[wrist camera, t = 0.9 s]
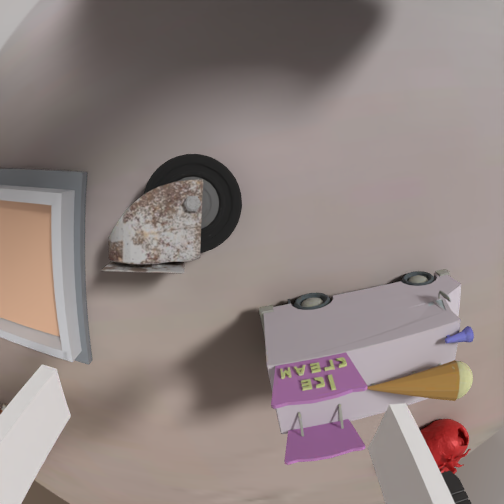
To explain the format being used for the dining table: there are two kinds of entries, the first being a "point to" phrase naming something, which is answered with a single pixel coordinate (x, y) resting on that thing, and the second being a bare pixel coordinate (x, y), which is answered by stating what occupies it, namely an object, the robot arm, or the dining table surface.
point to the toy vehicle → (361, 358)
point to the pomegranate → (446, 443)
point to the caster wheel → (176, 217)
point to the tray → (44, 262)
